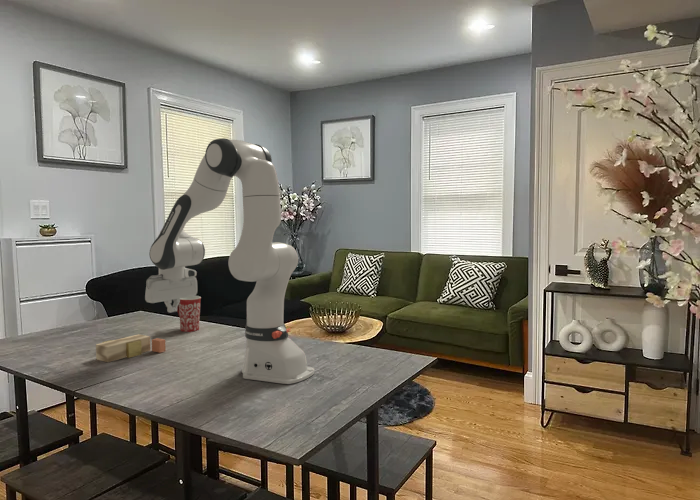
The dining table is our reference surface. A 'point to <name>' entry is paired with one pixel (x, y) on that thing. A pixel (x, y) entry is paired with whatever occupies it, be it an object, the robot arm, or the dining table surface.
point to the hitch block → (119, 347)
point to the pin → (132, 348)
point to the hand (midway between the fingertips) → (172, 311)
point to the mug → (189, 313)
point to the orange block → (158, 345)
